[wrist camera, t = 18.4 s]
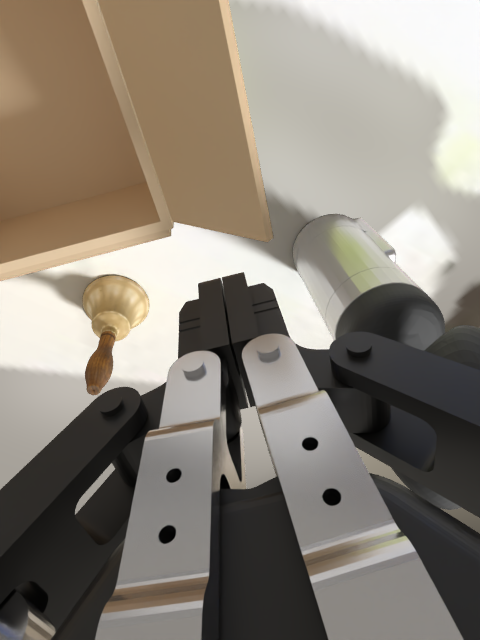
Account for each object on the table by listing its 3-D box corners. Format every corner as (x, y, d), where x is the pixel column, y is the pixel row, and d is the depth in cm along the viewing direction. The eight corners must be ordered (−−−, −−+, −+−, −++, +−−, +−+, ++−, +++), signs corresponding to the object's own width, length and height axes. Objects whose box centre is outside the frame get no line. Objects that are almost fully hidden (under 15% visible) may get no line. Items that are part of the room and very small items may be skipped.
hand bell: (122, 339, 56) (105, 430, 43) (69, 305, 52) (32, 393, 39) (162, 301, 53) (157, 386, 40) (109, 262, 49) (84, 341, 36)
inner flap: (267, 242, 26) (273, 237, 26) (137, -403, 13) (152, -398, 13) (172, 221, 33) (178, 218, 33) (25, -214, 20) (36, -213, 20)
